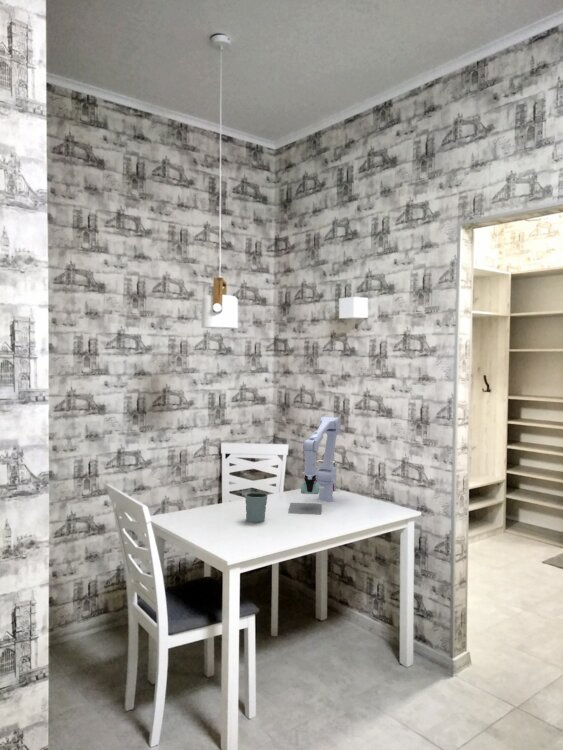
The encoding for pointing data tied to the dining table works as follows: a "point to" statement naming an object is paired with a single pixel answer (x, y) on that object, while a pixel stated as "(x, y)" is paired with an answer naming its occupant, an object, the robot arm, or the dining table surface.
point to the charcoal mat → (305, 508)
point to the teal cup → (255, 507)
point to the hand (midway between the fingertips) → (309, 490)
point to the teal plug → (314, 491)
